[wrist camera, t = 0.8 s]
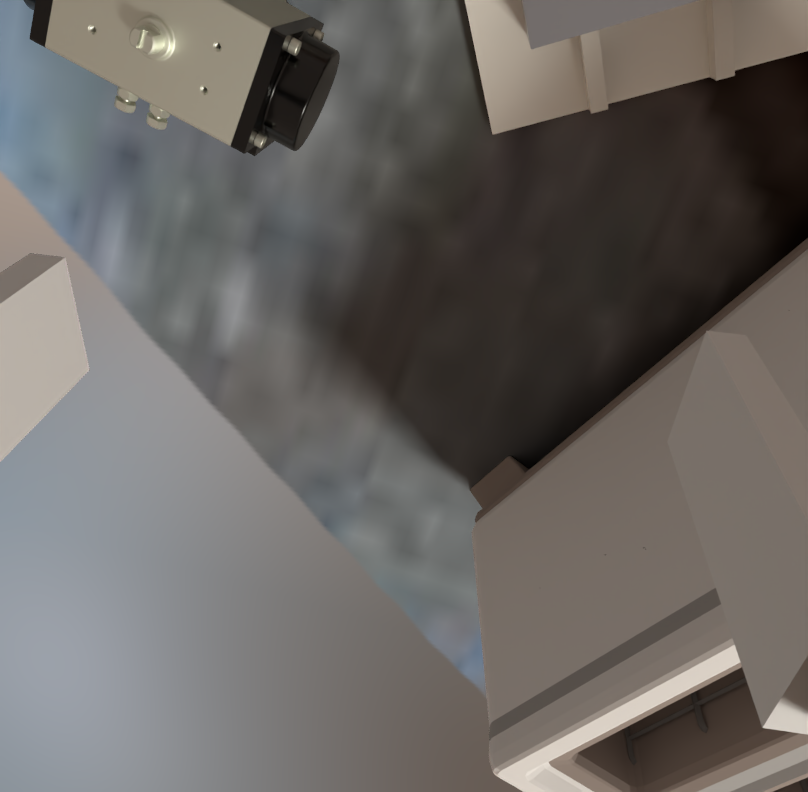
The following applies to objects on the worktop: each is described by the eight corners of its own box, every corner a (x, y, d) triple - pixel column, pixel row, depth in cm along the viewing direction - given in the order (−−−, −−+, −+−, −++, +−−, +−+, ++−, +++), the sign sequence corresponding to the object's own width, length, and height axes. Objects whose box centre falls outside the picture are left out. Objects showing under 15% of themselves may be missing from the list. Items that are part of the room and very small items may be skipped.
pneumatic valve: (149, -97, 33) (-10, -124, 22) (371, 31, 34) (315, 60, 24) (122, 21, 35) (-30, 45, 25) (328, 134, 37) (261, 198, 27)
